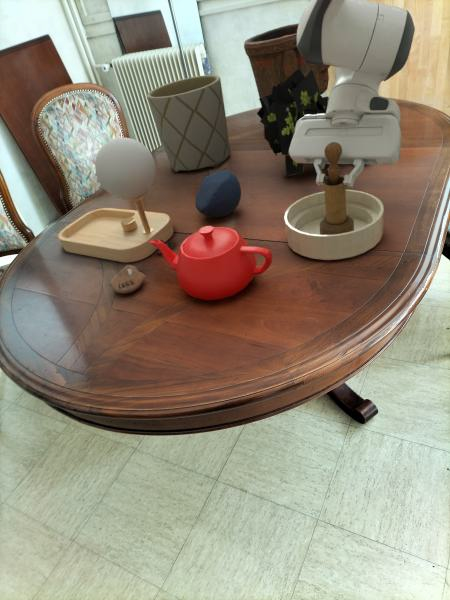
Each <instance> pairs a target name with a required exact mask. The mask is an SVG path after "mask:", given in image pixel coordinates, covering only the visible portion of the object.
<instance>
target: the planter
mask: <svg viewBox="0 0 450 600" xmlns="http://www.w3.org/2000/svg"><path fill="white" fill-rule="evenodd" d="M146 99H147V102H148V105H149V108H150V111H151V115H152V117H153V119H154V123H155V126H156V128H157V131H158V134H159V137H160V140H161V143H162V146H163V147H164V151H165V153H166V157H167V160H168V162H169V165H170V166H171V169H172V170H173V171H174V172H175V173H180V171H194V170H195V171H196V170H200V169H204V168H208V167H213V168H218V167H220V166H221V164H222V163H224V162H225V161H226V160H227V158H228V157H229V156H230V154H231V147H230V139H229V131H228V124H227V123H228V122H227V117H226V109H225V108H226V107H225V101H224V95H223V88H222V82H221V77H220V76H219V75H216V74H204V75H203V74H202V75H197V76H191V77H186V78H182V79H179V80H174V81H171V82H168V83H166V84H163V85H159V86H158V87H155V88H154V89H152V90H150V91H149V92H148V93H147V94H146Z"/></svg>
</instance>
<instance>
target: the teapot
mask: <svg viewBox="0 0 450 600" xmlns="http://www.w3.org/2000/svg"><path fill="white" fill-rule="evenodd" d="M149 242H150V243H151V244H153V245H154V246H155V247H156V248H157V249H159V250H160V251H161V253H162V254H161V253H160V254H161V255H162V257H163V258H164V260H165V262H166V264H167V265H168V267H169V268H170V270H173V271H175V272H176V276H177V280H178V285H179V287H180V288H181V290H182V291H183V292H185V293H186V294H187V295H189V296H191V297H193V298H196V299H200V300H204V301H213V300H214V301H216V300H218V301H219V300H223V299H226V298H229V297H233V296H234V295H236V294H238V293H240V292H241V291H243V290H245V289H246V287H247V286H248V285H249V283H250V282H251V281H252V280H253V279H254V277H255V276H257V275H262V274H263V273H264V272H265V271H267V270H268V269H269V268H270V266H271V265H272V263H273V254H272V252H271V250H270V249H268V248H266V247H261V246H250V245H249V244H248V242H247V241H246V240H245V239H244V238H243V237H242V235H241V234H240V233H239V232H238V231H237V230H235V229H233V228H231V227H224V226H215V227H214V226H212V225H205V226H202V227H201V228H199V230H198V231H196V232H194V233H192V234H190V235H188V236H187V237H186V238H185V239H184V240H183V241H182V242H181V244H180V247H179V251H178V254H177V253H176V252H174V251H173V250H172V249H171V248H169V247H170V246H169V247H168V246H167V245H166V244H167V243H163V242H162V241H160V240H150V241H149ZM255 255H260V256H263V257H264V259H265V260H264V263H263V265H261V266H259V267H258V266H257V260H256V256H255Z"/></svg>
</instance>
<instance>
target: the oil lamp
mask: <svg viewBox="0 0 450 600" xmlns="http://www.w3.org/2000/svg"><path fill="white" fill-rule="evenodd" d="M146 278H147V276H146V274H144V273H143V272H141V271H139V267H137V266H136V265H135V266H134V265H132V264H126V265H125V266H124V267H123V268H122V269H121V270H120V271H119V272H117V273H116V274H115V275H114V276H113V277H112V279H111V280H110V282H109V284H108V285H109V286H110V288H112V289H113V291H114V292H116V293H118V294H130V293H134V292H135V291H137V290H138V289H139V288H140V287H141V286H142V285H143V283H144V281H145V280H146Z"/></svg>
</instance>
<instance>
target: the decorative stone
mask: <svg viewBox="0 0 450 600" xmlns="http://www.w3.org/2000/svg"><path fill="white" fill-rule="evenodd" d="M241 188H242V187H241V184H240V180H238V177H237V176H236V175H235V174H234V173H233V172H232V171H231V170H225V169H224V170H223V169H221V170H218V171H215V172H214V173H210V174H209V175H207V176H205V177H204V178H203V180H202V181H201V183H200V185H199V188H198V190H197V193H196V195H195V209H196V210H197V211H198V212H199V213H200V214H202V215H203V216H206V217H212V218H222V217H225V216H228V215H230V214H232V213H233V212H234V211H235V210H236V209H237V207H238V206H239V204H240V201H241V197H242V189H241Z"/></svg>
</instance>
